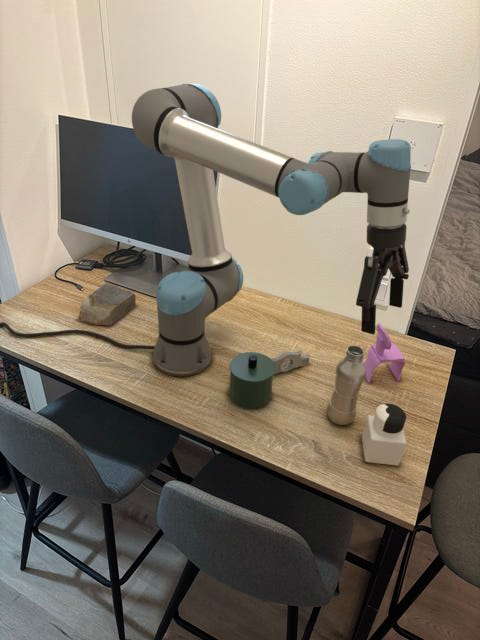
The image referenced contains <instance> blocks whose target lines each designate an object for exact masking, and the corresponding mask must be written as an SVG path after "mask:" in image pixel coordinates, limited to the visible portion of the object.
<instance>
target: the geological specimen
mask: <svg viewBox="0 0 480 640" xmlns="http://www.w3.org/2000/svg"><path fill="white" fill-rule="evenodd" d="M136 300H137V299H136V294H135V292H132V291H130V290H126V289H124V288H122V287H119V286H116V285H112V284H110V283H108V282H106V283H104V284H103V285H101V286H100V287H98V288H97V289H95V290H94V291H93V292H92V293H90V294H89V295H86V296H85V298H84V299H83V301H82V302H81V305H80V307H79V313H78V319H79V320H80V321H81V322H83V323H88V324H90V325H92V324H94V325H97V326H107V327H108V326H110V327H111V326H113V325H114V324H116V323H117V322H118V321H119V320H121V318H124V317H125V316H126V315H127V314H128V313H129V312H131V311H132V310H133V309H135V307H136V303H137V301H136Z"/></svg>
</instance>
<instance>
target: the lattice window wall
mask: <svg viewBox="0 0 480 640" xmlns="http://www.w3.org/2000/svg"><path fill="white" fill-rule="evenodd" d="M311 357H312V356H311V354H310V353H308V352H307V353H304V352H303V350H302V349H301V348H300V349H297V350H294V351H292V350H283V351H282V352H281V353H279V354H278V355H275V356H272V357H271V356H270V357H269V358H270V359H271V360H272V361H273V362H274V364H275V373H274V375H276V374H279V373H280V374H281V373H287V372H289V371H291V370H293V369H296V368H300V367H303V366H307V365H309V363H310V358H311Z"/></svg>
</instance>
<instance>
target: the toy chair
mask: <svg viewBox="0 0 480 640" xmlns="http://www.w3.org/2000/svg"><path fill="white" fill-rule="evenodd" d="M376 332H377V333H376V340H375V341H376V342H375V343H374V344H371V345H370V346H371V347H369V349H368V352H367V356H366V360H365V361H364V362H363V363H364V365H365V367H366V376H365V379H366V381H367V382H368V383H371V380H372V376H373V374H374V371H375V370H376V368H377V367H379V366H380V365H381V364H385V363H389V364H388V367H389V369H390V372H391V373H392V374H393V375H394V377H395V379H396V380H397V381H398V382H399V381H400V380H401V377H402V376H401V375H402V373H403V370H404V368H405V365H406V358H405V356H404V355H403V353H402V352H401V350H400V349H399V347H398V346H397V344H396V343H392V340H391V338H390V336H389V334H388V332H387V331H386V329H385V327H383V325H382V323H377V324H376Z"/></svg>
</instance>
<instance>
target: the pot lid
mask: <svg viewBox="0 0 480 640" xmlns="http://www.w3.org/2000/svg"><path fill="white" fill-rule="evenodd" d="M270 358H271V357H269V356H267V354H263V353H260V352H255V351H245V352H241V353H238V354H236V355H234V356H233V357H232V358H231V360H230V361H229V366H228V367H229V368H228V369H229V371H230V372H231V373H232V375H233V376H234V377H236V378H237V379H239V380H241V381H244V382H249V383H259V382H264V381H266V380H268V379H270V378H271V377H272V376H273V377H274V375H275V374H274V373H275V364H274V362H273V361H272V360H271V359H270ZM230 372H229V373H230Z"/></svg>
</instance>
